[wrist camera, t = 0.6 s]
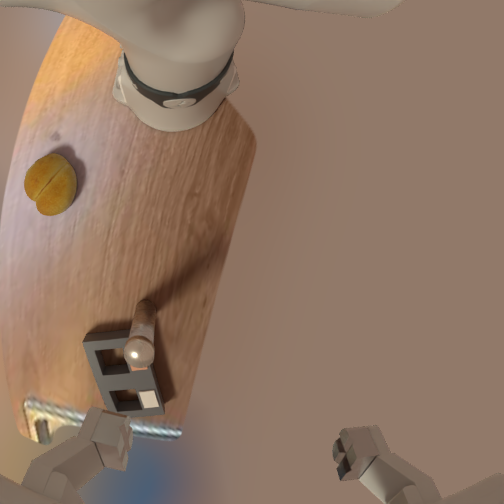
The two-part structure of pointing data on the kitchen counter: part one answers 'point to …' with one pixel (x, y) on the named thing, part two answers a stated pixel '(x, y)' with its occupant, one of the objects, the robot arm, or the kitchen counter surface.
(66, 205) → the bread roll
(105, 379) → the socket board
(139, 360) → the metal plug
